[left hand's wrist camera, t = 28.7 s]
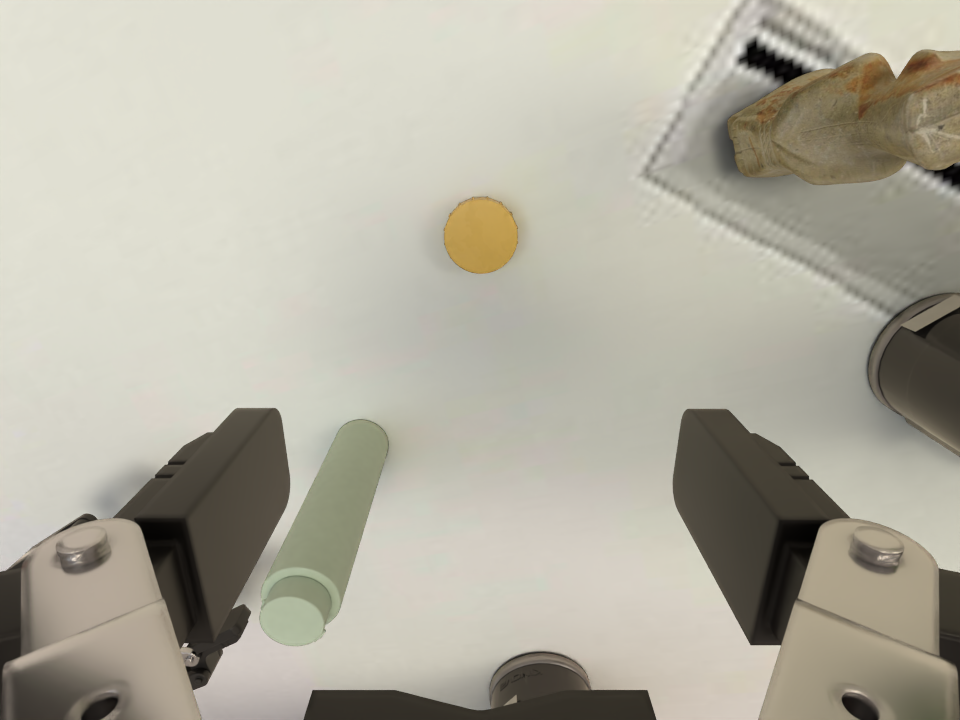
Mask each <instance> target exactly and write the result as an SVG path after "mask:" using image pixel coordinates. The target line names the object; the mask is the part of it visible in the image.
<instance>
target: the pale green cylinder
mask: <svg viewBox="0 0 960 720" xmlns="http://www.w3.org/2000/svg"><path fill="white" fill-rule="evenodd" d="M388 446H389V444H388V438H387V436H386V434H385V432H384V431H383V430H382V429H381V428H380V427H379V426H378V425H376V424H375V423H373V422H370V421H366V420H355V421H351V422H348V423H347V424H345V425H344V426H342V427H341V429H340V430H339V431H338V433H337V435H336V437H335V439H334V441H333V443H332V445H331V447H330V450H329V452H328V454H327V456H326V458H325V460H324V462H323V464H322V466H321V468H320V470H319V472H318V474H317V476H316V478H315V480H314V482H313V484H312V486H311V488H310V490H309V492H308V494H307V496H306V498H305V500H304V502H303V504H302V506H301V508H300V510H299V512H298V514H297V516H296V519H295V521H294V523H293V525H292V527H291V529H290V531H289V533H288V535H287V537H286V539H285V541H284V543H283V545H282V547H281V549H280V551H279V553H278V555H277V557H276V559H275V561H274V563H273V565H272V567H271V569H270V571H269V573H268V575H267V577H266V579H265V581H264V583H263V586H262V589H261V600H262V607H261V612H260V624H261V627H262V629H263V631H264V632H265V633H266V634H267V635H268V636H269V637H270V638H271V639H273V640H274V641H276V642H278V643H281V644H284V645H288V646H303V645H307V644H310V643H312V642H315V641H317V640H318V639H319V638H321V637H322V636H323V634H324V633H325V631H326V630H325V629H324V628H325V625H326V624H328V623H329V622H330V621H332V620H333V619H334V618H335V617H336V615H337V614H338V612H339V610H340V607H341V604H342V601H343V597H344V594H345V591H346V587H347V584H348V581H349V577H350V574H351V571H352V568H353V564H354V561H355V558H356V554H357V551H358V548H359V544H360V541H361V538H362V534H363V531H364V528H365V524H366V521H367V518H368V514H369V511H370V508H371V504H372V501H373V498H374V494H375V491H376V488H377V485H378V481H379V478H380V475H381V471H382V468H383V465H384V461H385V458H386V455H387V451H388Z"/></svg>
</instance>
